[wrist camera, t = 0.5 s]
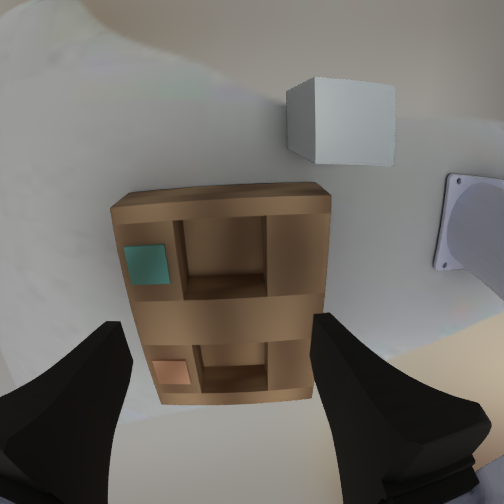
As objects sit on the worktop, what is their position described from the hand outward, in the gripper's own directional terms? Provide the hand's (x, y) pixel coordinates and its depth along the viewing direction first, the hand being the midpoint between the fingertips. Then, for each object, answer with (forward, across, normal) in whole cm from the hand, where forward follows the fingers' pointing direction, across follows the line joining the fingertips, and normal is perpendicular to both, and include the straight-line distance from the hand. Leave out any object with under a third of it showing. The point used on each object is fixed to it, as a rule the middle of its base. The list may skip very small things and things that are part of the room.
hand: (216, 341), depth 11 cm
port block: (+10, 0, +4) cm, 11 cm away
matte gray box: (+10, -6, -8) cm, 14 cm away
